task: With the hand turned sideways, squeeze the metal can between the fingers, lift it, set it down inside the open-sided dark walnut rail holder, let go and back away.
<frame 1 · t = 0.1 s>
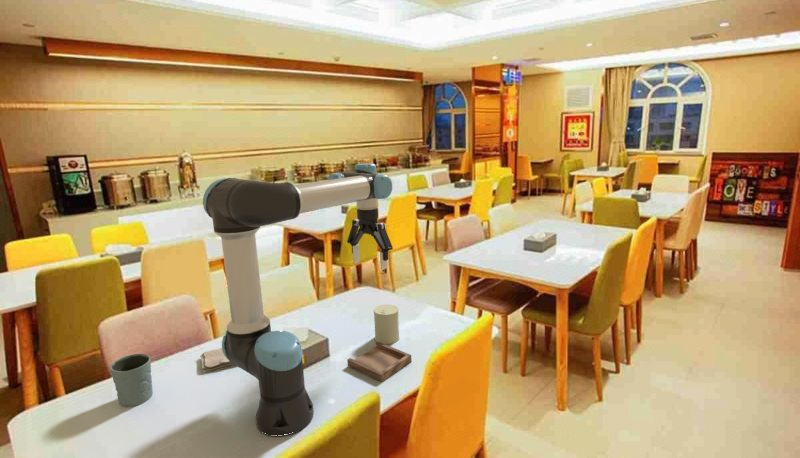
hand: (370, 265, 157), 28 cm above the table, tool pointing down, fingers open, 13 cm apart
rail holder: (379, 363, 144), on the table
grey embossed cup: (137, 398, 129), on the table
washcloth: (230, 360, 150), on the table
can: (387, 338, 161), on the table
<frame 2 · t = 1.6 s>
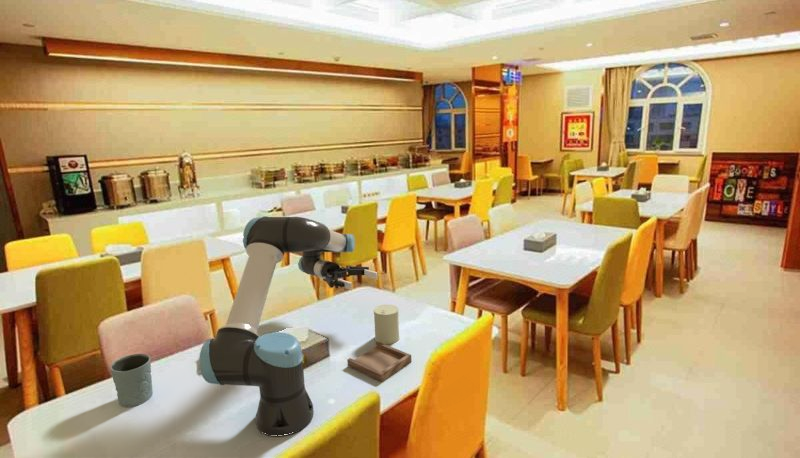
hand: (364, 281, 163), 20 cm above the table, tool horizontal, fingers open, 13 cm apart
nothing on the table moved.
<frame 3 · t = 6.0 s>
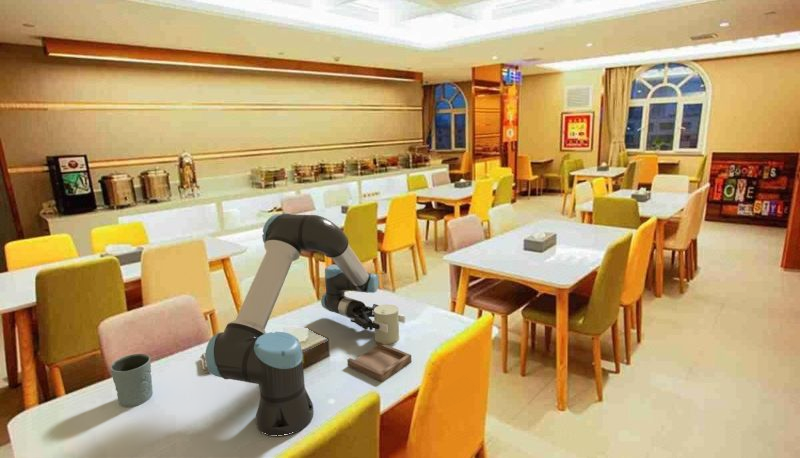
hand: (395, 324, 157), 7 cm above the table, tool horizontal, fingers closed on can, 9 cm apart
can: (387, 338, 161), on the table, touching gripper
everything else where it was.
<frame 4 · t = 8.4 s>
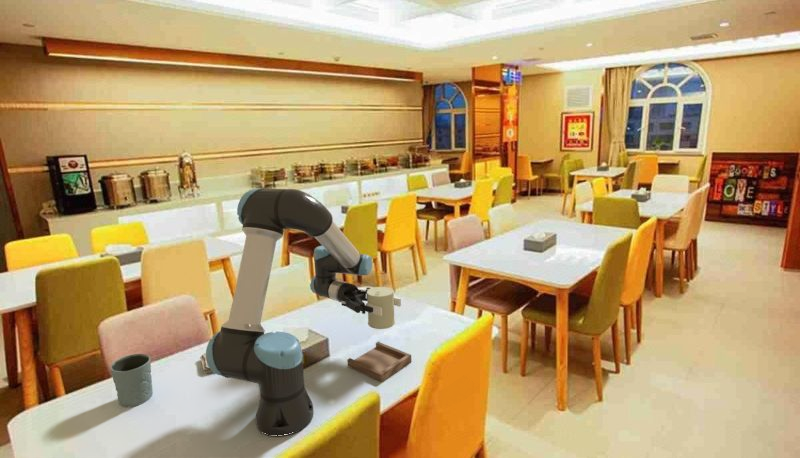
hand: (391, 307, 143), 19 cm above the table, tool horizontal, fingers closed on can, 9 cm apart
can: (381, 323, 147), point 11 cm above the table, touching gripper
everything else where it was.
when the fingers open (9 cm above the table, at t = 11.1 s): can drops 1 cm, resting on rail holder.
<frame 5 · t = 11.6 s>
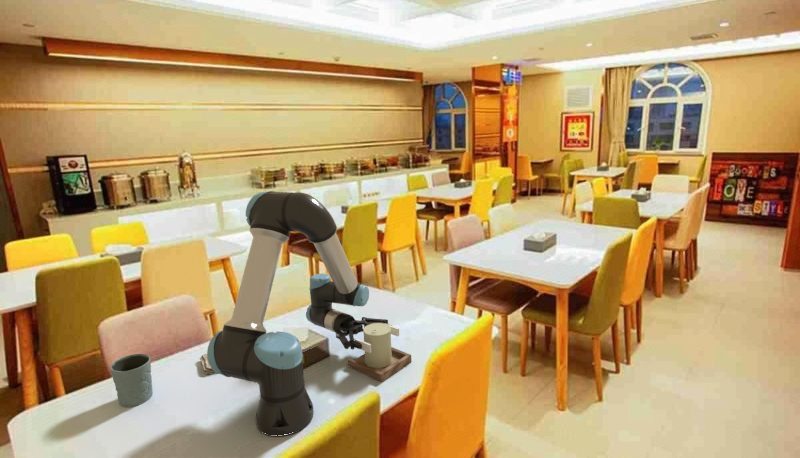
hand: (385, 340, 140), 9 cm above the table, tool horizontal, fingers open, 13 cm apart
can: (378, 361, 144), point 1 cm above the table, touching rail holder
everything else where it was.
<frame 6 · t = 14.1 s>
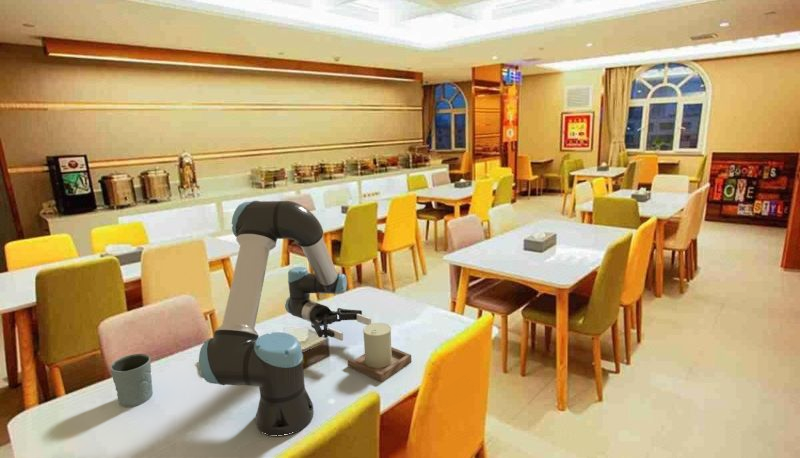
hand: (356, 329, 148), 10 cm above the table, tool horizontal, fingers open, 13 cm apart
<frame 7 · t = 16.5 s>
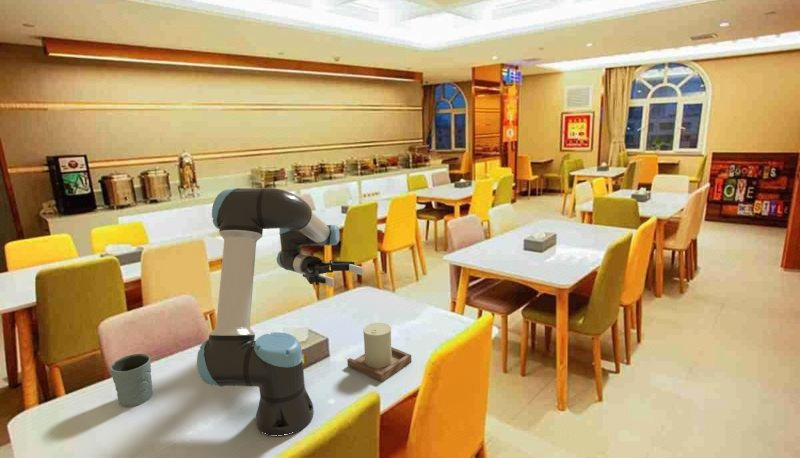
hand: (348, 276, 145), 28 cm above the table, tool horizontal, fingers open, 13 cm apart
at the end: can inside the target area on the rail holder (0.0 cm from its centre), point 0.8 cm above the rail holder's base; can tilted 0°; the gripper is holding nothing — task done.
